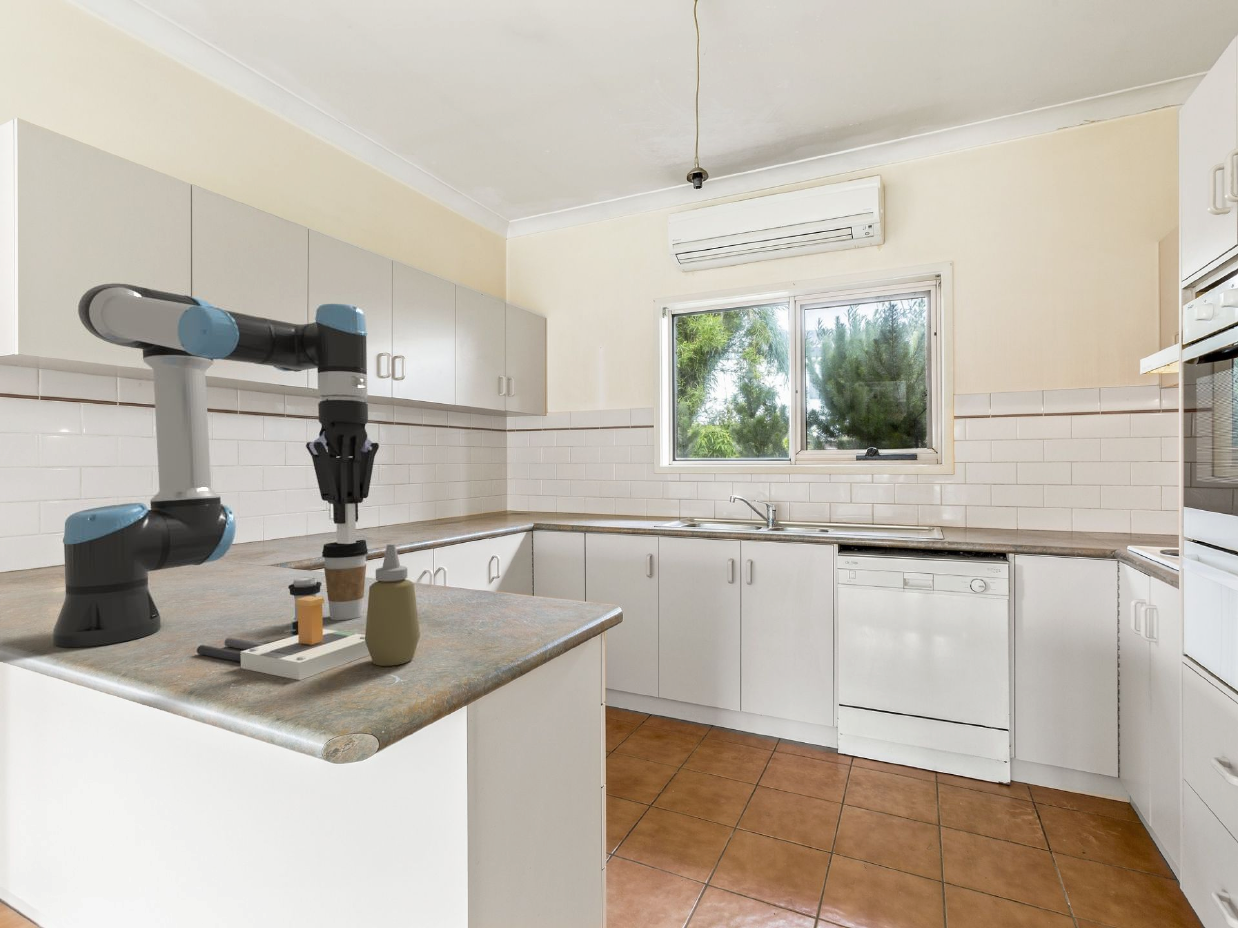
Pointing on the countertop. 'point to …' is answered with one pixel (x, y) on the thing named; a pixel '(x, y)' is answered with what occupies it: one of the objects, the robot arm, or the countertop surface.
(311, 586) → the push button
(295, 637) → the panel
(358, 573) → the coffee cup
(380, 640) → the squeeze bottle
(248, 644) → the cord
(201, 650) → the cord
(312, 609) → the lever
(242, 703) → the countertop surface
